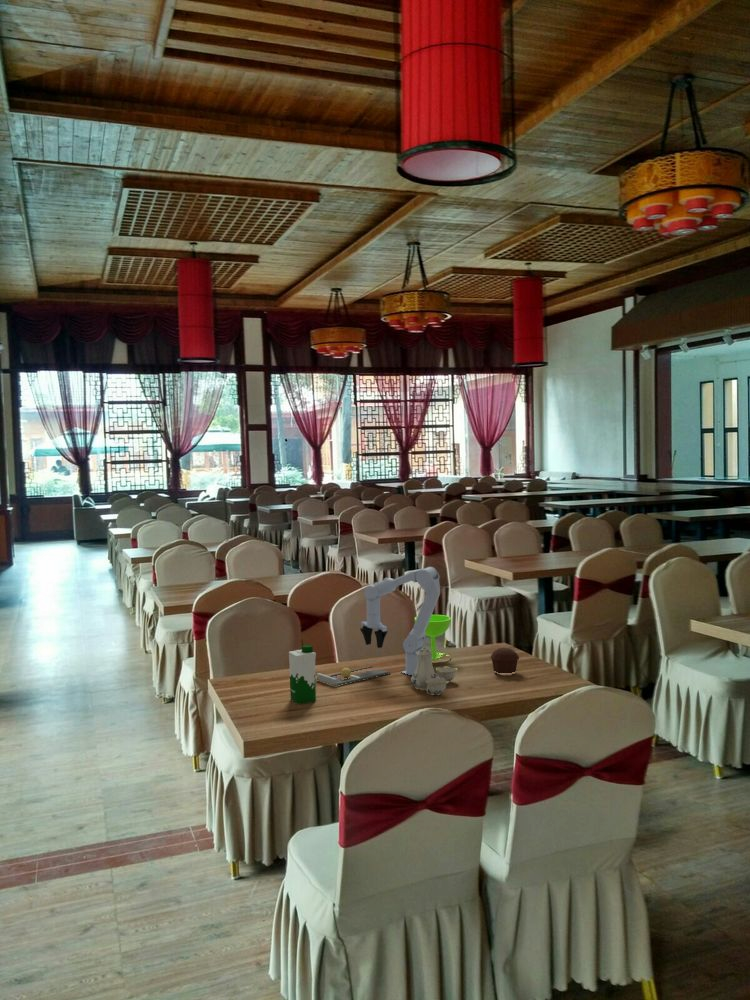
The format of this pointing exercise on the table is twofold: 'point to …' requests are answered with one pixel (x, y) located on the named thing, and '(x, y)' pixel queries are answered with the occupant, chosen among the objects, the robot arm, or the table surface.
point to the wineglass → (436, 631)
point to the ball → (346, 672)
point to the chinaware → (431, 674)
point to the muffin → (504, 660)
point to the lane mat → (356, 677)
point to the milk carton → (302, 675)
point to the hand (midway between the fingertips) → (374, 646)
